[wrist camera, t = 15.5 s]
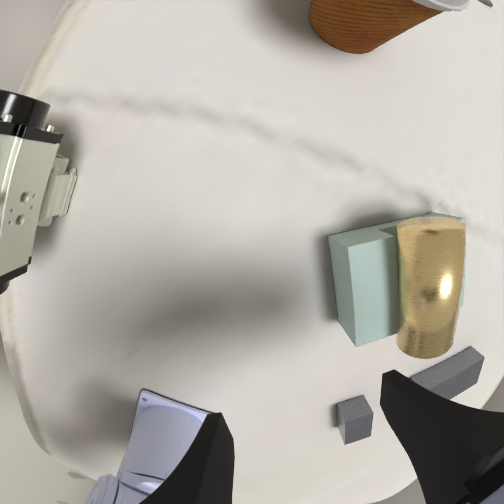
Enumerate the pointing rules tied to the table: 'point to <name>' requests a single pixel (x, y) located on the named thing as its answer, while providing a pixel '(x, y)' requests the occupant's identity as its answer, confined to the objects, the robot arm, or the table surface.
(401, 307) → the gold rounded piece
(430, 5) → the disposable coffee cup
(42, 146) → the pneumatic valve
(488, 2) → the half round rod
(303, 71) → the table surface
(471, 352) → the grey rectangular blocks
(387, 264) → the v block
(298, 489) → the table surface
